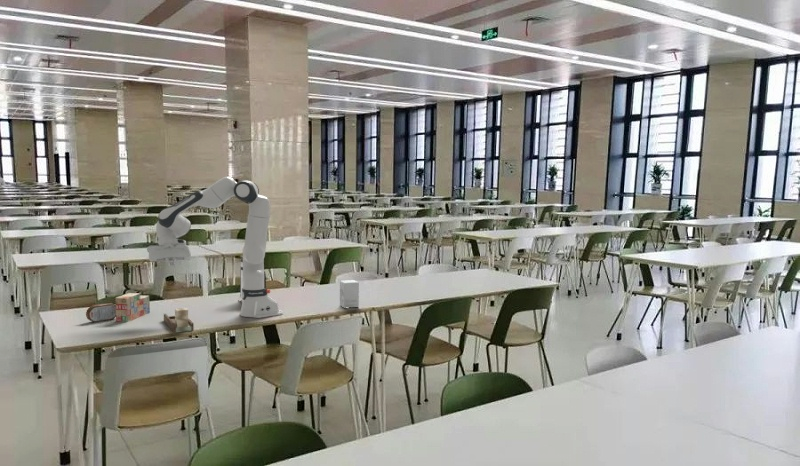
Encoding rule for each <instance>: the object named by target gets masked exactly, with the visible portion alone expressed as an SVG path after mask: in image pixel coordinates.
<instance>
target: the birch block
mask: <svg viewBox="0 0 800 466" xmlns="http://www.w3.org/2000/svg"><path fill="white" fill-rule="evenodd" d="M174 316H175V324H176V327H187V326H188V318H189V309H188V308H187V307H179V308H174Z"/></svg>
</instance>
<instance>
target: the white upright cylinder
mask: <svg viewBox="0 0 800 466" xmlns="http://www.w3.org/2000/svg"><path fill="white" fill-rule="evenodd" d="M239 262H240V266H239V267H240V272H239V273H240V276H239V277H240V279H239V281H240V282H239V283H240V289H239V291H240V293H239V294H240V295H239V298H240V299H241V300H240V299H238V300H237V301H238V302H239V301H240V302H242V300H243V299H242V288H243V256H241V258H240V259H239ZM266 281H267V277H266V271H265V270H264V288H266V289H267V282H266Z"/></svg>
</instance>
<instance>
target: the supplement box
mask: <svg viewBox="0 0 800 466" xmlns="http://www.w3.org/2000/svg"><path fill="white" fill-rule="evenodd" d="M359 289H360V282H359V281H357V280H355V279H348V280H346V279H345V280H339V306H340V305H341V306H342V307H344V308H346V307H360V306H359V302H360V299H359V298H360V294H359V293H360V291H359ZM341 306H340V307H341ZM342 307H341V308H342ZM344 308H343V309H344Z"/></svg>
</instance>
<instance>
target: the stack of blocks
mask: <svg viewBox="0 0 800 466" xmlns="http://www.w3.org/2000/svg"><path fill="white" fill-rule="evenodd" d="M150 303H151V302H150V295H142V294H141V293H136V292H135V293H134V292H127V293H125V294H123V295H120V296H116V297H115V305H116V317H115V322H124V323H126V322H127V323H128V322H131V321H133V320H136V319H138V318H140V317H142V316H145V315H147V314H149V313H150V312H151V310H150V309H151V305H150Z"/></svg>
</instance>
